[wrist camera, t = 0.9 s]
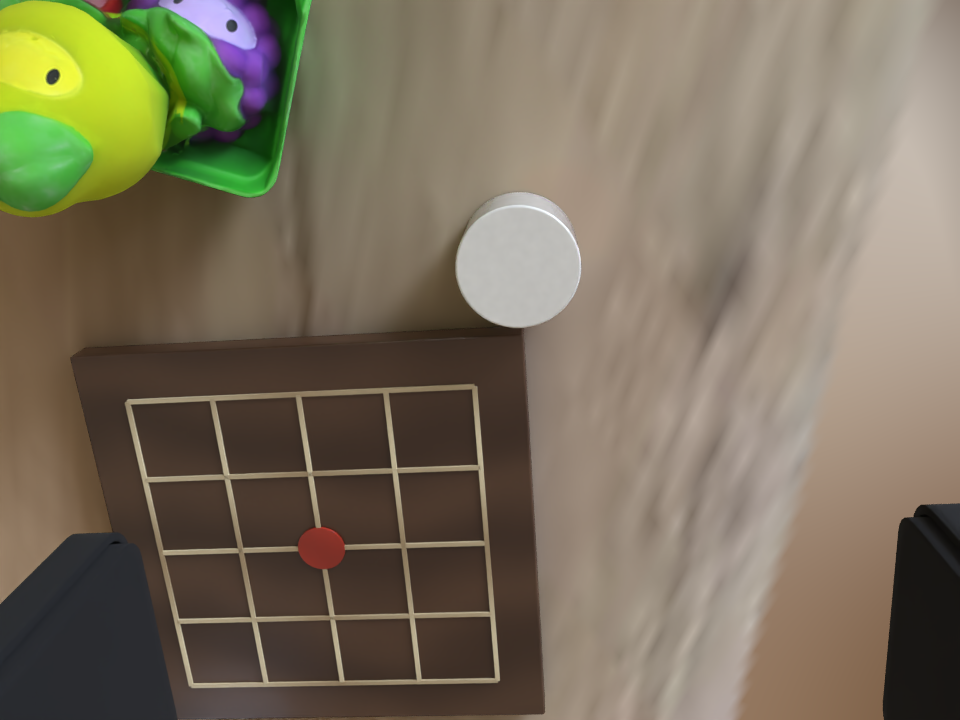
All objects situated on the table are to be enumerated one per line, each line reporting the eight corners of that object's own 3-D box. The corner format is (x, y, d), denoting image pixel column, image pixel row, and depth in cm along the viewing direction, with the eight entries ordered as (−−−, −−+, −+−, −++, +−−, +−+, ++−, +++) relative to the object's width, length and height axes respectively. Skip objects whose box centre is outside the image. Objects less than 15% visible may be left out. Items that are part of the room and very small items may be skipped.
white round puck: (457, 195, 32) (449, 209, 29) (575, 188, 32) (579, 201, 29) (466, 308, 34) (459, 331, 31) (579, 302, 33) (583, 325, 30)
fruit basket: (354, -33, 30) (253, -80, 19) (302, 213, 33) (191, 291, 22) (30, -131, 29) (-257, -235, 19) (8, 127, 32) (-249, 165, 22)
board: (84, 347, 35) (67, 358, 34) (523, 325, 34) (523, 335, 32) (168, 702, 41) (157, 722, 40) (544, 696, 40) (545, 717, 38)
